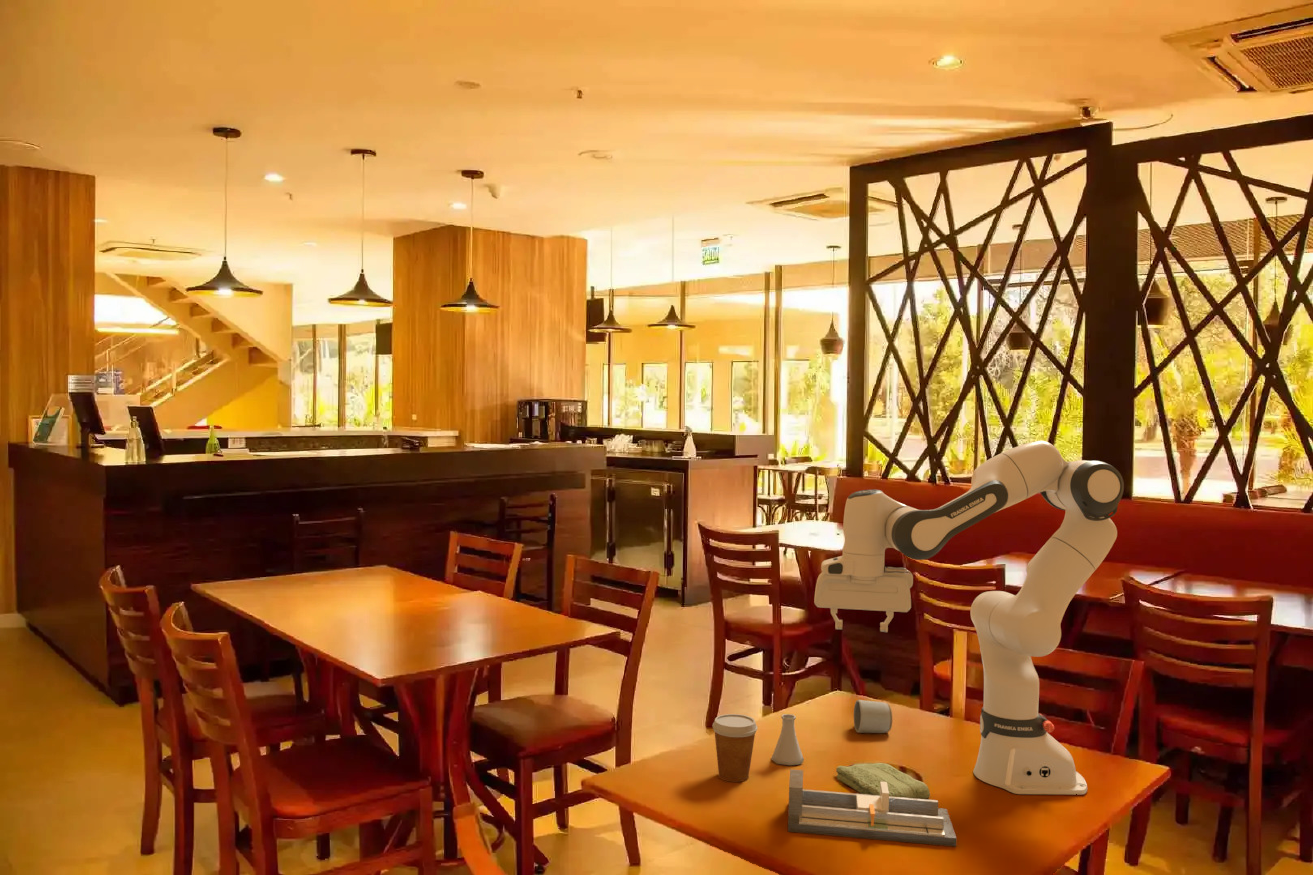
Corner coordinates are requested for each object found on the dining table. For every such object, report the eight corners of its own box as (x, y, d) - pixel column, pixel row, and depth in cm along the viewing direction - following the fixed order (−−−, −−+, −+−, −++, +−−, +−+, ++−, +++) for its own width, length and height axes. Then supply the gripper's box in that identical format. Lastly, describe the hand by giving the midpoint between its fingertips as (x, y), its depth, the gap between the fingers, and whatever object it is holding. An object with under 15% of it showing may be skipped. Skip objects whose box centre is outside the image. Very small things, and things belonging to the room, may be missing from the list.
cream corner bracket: (885, 809, 183) (886, 781, 183) (889, 831, 174) (890, 801, 174) (856, 806, 184) (856, 778, 184) (858, 828, 175) (859, 799, 175)
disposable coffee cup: (753, 768, 208) (754, 713, 208) (759, 785, 198) (760, 728, 198) (709, 767, 208) (710, 712, 207) (713, 785, 198) (714, 727, 198)
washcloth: (882, 770, 210) (882, 755, 210) (934, 801, 193) (934, 785, 193) (831, 777, 205) (831, 762, 205) (879, 810, 188) (880, 794, 188)
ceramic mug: (893, 737, 230) (894, 705, 230) (859, 736, 230) (860, 704, 229) (881, 723, 240) (882, 692, 240) (849, 723, 240) (849, 692, 240)
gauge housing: (946, 816, 185) (947, 777, 185) (956, 846, 172) (957, 805, 172) (789, 802, 190) (790, 765, 190) (787, 831, 177) (788, 791, 177)
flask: (805, 766, 209) (807, 721, 209) (772, 766, 210) (773, 720, 209) (801, 755, 217) (802, 711, 216) (769, 754, 217) (770, 710, 217)
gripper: (911, 565, 206) (909, 629, 206) (815, 561, 209) (813, 624, 210) (914, 570, 200) (912, 636, 200) (815, 565, 203) (813, 630, 203)
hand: (861, 630), depth 205 cm, fingers open, 8 cm apart
